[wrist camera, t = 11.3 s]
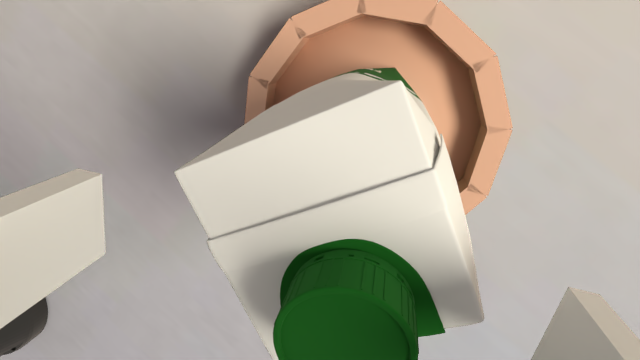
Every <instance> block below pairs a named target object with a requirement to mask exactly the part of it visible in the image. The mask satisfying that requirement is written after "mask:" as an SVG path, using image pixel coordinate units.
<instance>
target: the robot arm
mask: <svg viewBox="0 0 640 360" xmlns="http://www.w3.org/2000/svg"><path fill="white" fill-rule="evenodd" d="M105 254H106V250H105V229H104V208H103V187H102V174H99V173H95V172H91V171H87V170H83V169H79V168H78V169H75V170H73V171H70V172H67V173H65V174H62V175H59V176H57V177H54V178H51V179H49V180H46V181H43V182H41V183H38V184H35V185H33V186H30V187H27V188H25V189H22V190H19V191H17V192H14V193H11V194H9V195H6V196H3V197H1V198H0V356H2V355H5V354H9V353H12V352H14V351H16V350H18V349H20V348H22V347H23V346H25V345H26V344H27V343H28V342H30V341H31V340H32V339H33V338H35V337H36V336H37V335H38V334H40V333H41V332H42V330H43V329H44V327H45V325H46V322H47V315H48V310H47V303H46V299H45V297H46V296H47V295H48V294H50V293H51V292H53V291H54V290H56V289H57V288H58V287H60V286H61V285H63V284H64V283H65V282H67V281H68V280H70V279H71V278H72V277H74V276H75V275H77V274H78V273H79V272H81V271H82V270H84V269H85V268H86V267H88V266H89V265H91V264H92V263H93V262H95V261H96V260H98V259H99V258H100V257H102V256H103V255H105ZM531 360H640V340H639V339H638V338H637V336H636V335H635V334H634V333H633V332H632V331H631V330H630V328H629V327H628V326H627V325H626V324H625V323H624V322H623V320H622V319H621V318H620V317H619V316H618V315H617V314H616V312H615V311H614V310H613V309H612V308H611V307H610V306H609V304H608V303H607V302H606V301H605V300H604V299H603V298H602V296H601V295H600V294H596V293H591V292H587V291H583V290H579V289H575V288H571V287H568V288H567V290H566V292H565V294H564V296H563V298H562V300H561V302H560V304H559V306H558V308H557V310H556V312H555V314H554V316H553V318H552V320H551V322H550V324H549V326H548V327H547V329H546V331H545V333H544V335H543V337H542V339H541V341H540V343H539V345H538V347H537V349H536V351H535V353H534V355H533V357H532V359H531Z"/></svg>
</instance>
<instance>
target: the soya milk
mask: <svg viewBox="0 0 640 360" xmlns="http://www.w3.org/2000/svg"><path fill="white" fill-rule="evenodd" d="M440 138H441V139H440ZM174 174H175V176H176V177H177V179H178V181H179V183H180V185H181V187H182V189H183V191H184V193H185V194H186V196H187V198H188V200H189V202H190V204H191V206H192V207H193V209H194V211H195V213H196V215H197V217H198V219H199V220H200V222H201V224H202V226H203V228H204V230H205V232H206V233H207V235H208V237H209V238H208V240H207V244H208V247H209V249H210V251H211V253H212V255H213V257H214V258H215V260H216V262H217V264H218V265H219V267H220V268H221V269H222V270H223V271H224V273H225V275H226V276H227V278H228V280H229V282H230V284H231V286H232V287H233V289H234V291H235V293H236V295H237V296H238V298H239V300H240V302H241V304H242V305H243V307H244V309H245V311H246V313H247V314H248V316H249V318H250V320H251V322H252V323H253V325H254V327H255V329H256V331H257V332H258V334H259V336H260V338H261V340H262V341H263V343H264V345H265V347H266V349H267V350H268V352H269V354H270V356H271V357H272V359H273V360H418V354H419V348H418V337H422V336H430V335H436V334H441V333H445V330H444V329H446V328H452V327H459V326H466V325H471V324H476V323H480V322H482V321H483V320H484V313H483V308H482V303H481V298H480V293H479V287H478V280H477V274H476V268H475V262H474V256H473V250H472V244H471V239H470V233H469V229H468V225H467V221H466V217H465V213H464V209H463V205H462V201H461V197H460V193H459V189H458V185H457V181H456V178H455V175H454V171H453V168H452V164H451V160H450V157H449V154H448V151H447V148H446V145H445V142H444V138H443V136H442V134H440V136H439V134H438V131H437V128H436V126H435V125H434V123H433V121H432V119H431V117H430V115H429V113H428V111H427V110H426V108H425V106H424V104H423V102H422V101H421V99H420V98H419V97H418V96H417V94H416V93H415V92H414V90H413V89H412V88H411V87H410V85H409V84H408V83H407V82H406V80H405V79H404V78H403V77H402V76H401V74H400V73H399V72H398V71H397V69H396V68H395V67H394V68H370V69H357V70H353V71H350V72H347V73H344V74H340V75H338V76H335V77H333V78H330V79H328V80H325V81H323V82H321V83H318V84H316V85H314V86H311V87H309V88H307V89H305V90H302V91H300V92H298V93H296V94H294V95H293V96H291V97H289V98H287V99H285V100H284V101H282V102H280V103H278V104H276V105H274V106H272V107H270V108H269V109H267V110H265V111H264V112H262V113H261V114H259V115H258V116H256V117H255V118H253V119H252V120H250V121H249V122H247V123H246V124H244V125H243V126H241V127H240V128H239V129H237V130H236V131H234V132H233V133H231V134H230V135H228V136H227V137H225V138H224V139H222V140H221V141H220V142H218V143H217V144H215V145H214V146H212V147H211V148H209V149H208V150H206V151H205V152H203V153H202V154H200V155H199V156H197V157H196V158H194V159H193V160H191V161H190V162H188V163H186V164H185V165H183V166H182V167H180V168H179V169H177V170H176V171H174Z"/></svg>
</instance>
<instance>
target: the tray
mask: <svg viewBox="0 0 640 360" xmlns="http://www.w3.org/2000/svg"><path fill="white" fill-rule="evenodd" d="M437 2H438V0H328V1H326V2H324V3H322V4H319V5H317V6H315V7H312V8H310V9H308V10H305V11H303V12H301V13H299V14H296V15H294V16H292V17H291V18H292V19H291V18H289V19H288V21H287V22H286V24H285V25H284V27H283V28H282V29H281V31H280V32H279V34H278V35H277V36H276V38H275V39H274V41H273V42H272V44H271V45H270V46H269V48H268V49H267V51H266V52H265V53H264V55H263V56H262V58H261V59H260V60H259V62H258V63H257V65H256V66H255V68H254V69H253V70H252V72H251V73H250V75H251V76H249V80H248V90H247V101H246V111H245V121H244V124H246V123H247V122H249V121H250V120H252V119H253V118H255V117H256V116H258V115H259V114H261V113H262V112H264V111H265V110H267V109H269V108H270V107H272V106H274V105H276V104H278V103H280V102H282V101H284V100H285V99H287V98H289V97H291V96H293V95H294V94H296V93H298V92H300V91H302V90H305V89H307V88H309V87H311V86H314V85H316V84H318V83H321V82H323V81H325V80H328V79H330V78H333V77H335V76H338V75H340V74H344V73H347V72H350V71H353V70H357V69H370V68H394V67H395V68H396V69H397V71H398V72H399V73H400V74H401V76H402V77H403V78H404V79H405V80H406V82H407V83H408V84H409V85H410V87H411V88H412V89H413V90H414V92H415V93H416V94H417V96H418V97H419V98H420V99H421V101H422V102H423V104H424V106H425V108H426V110H427V111H428V113H429V115H430V117H431V119H432V121H433V123H434V125H435V126H436V128H437V131H438V134H439V136H440V134H442V136H443V138H444V142H445V145H446V148H447V151H448V154H449V157H450V160H451V164H452V168H453V171H454V175H455V178H456V181H457V185H458V189H459V193H460V197H461V201H462V205H463V209H464V213H465V215H466V214H467V213H468V212H470V211H471V210H472V209H473V208H474V207H476V206H477V205H478V204H479V203H480V202H482V201H483V200H484V199H485V198H487V197H486V196H485V195H487V196H488V194H489V191H490V189H491V186H492V183H493V181H494V178H495V175H496V173H497V170H498V167H499V165H500V162H501V160H502V157H503V154H504V152H505V149H506V146H507V144H508V141H509V138H510V136H511V133H512V130H511V128H513V127H512V123H511V118H510V113H509V108H508V104H507V99H506V94H505V90H504V85H503V80H502V76H501V71H500V66H499V61H498V57H497V56H494V55H495V54H496V53H495V52H494V51H493V50H492V49H491V48H490V47H489V46H488V45H487V44H485V43H484V42H483V41H482V40H481V39H480V38H479V37H478V36H477V35H476V34H475V33H474V32H473V31H472V30H471V29H470V28H469V27H468V26H467V25H466V24H465V23H463V22H462V21H461V20H460V19H459V18H458V17H457V16H456V15H455V14H454V13H453V12H452V11H451V10H450V9H449V8H448V7H447V6H446V5H445V4H444V3H443V2H441V1H440V2H439V3H438V4H437ZM440 139H441V138H440Z"/></svg>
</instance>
